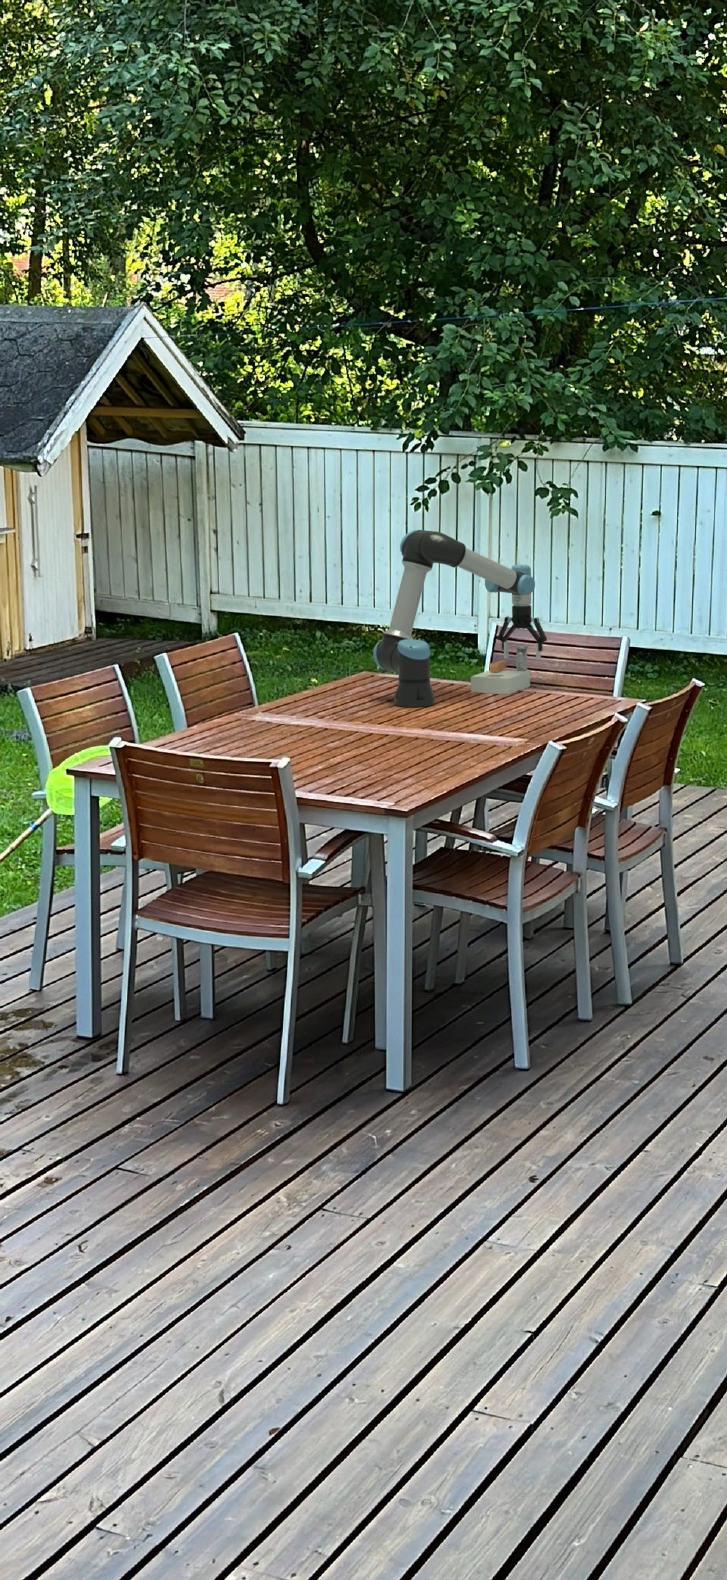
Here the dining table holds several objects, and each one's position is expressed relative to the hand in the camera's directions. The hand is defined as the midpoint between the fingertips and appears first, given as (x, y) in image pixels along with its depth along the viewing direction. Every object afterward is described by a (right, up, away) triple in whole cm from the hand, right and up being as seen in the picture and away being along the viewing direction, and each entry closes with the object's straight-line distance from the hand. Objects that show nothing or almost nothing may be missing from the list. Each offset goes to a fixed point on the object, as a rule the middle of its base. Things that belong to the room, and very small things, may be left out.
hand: (522, 658), depth 705 cm
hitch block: (-9, -13, -11) cm, 19 cm away
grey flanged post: (0, -10, +2) cm, 10 cm away
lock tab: (-10, -5, -4) cm, 12 cm away
